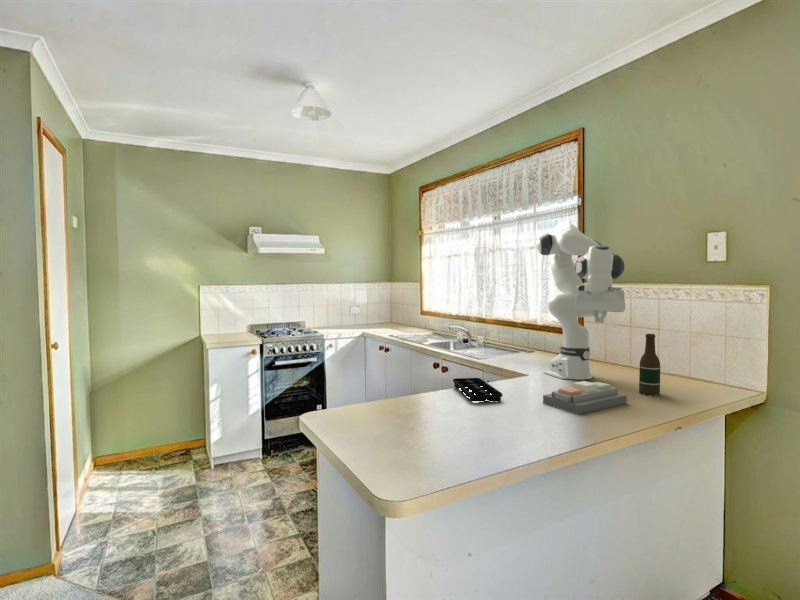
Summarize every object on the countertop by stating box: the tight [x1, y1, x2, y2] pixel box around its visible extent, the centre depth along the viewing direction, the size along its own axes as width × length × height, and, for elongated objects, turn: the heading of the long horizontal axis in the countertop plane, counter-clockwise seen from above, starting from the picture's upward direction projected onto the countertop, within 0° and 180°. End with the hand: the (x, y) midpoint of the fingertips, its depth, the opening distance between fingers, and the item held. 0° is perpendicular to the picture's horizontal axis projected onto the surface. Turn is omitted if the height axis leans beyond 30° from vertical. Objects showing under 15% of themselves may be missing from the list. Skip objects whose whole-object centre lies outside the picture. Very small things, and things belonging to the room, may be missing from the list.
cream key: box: [572, 380, 596, 393], centre depth 168 cm, size 6×6×3 cm
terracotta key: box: [557, 386, 581, 396], centre depth 164 cm, size 6×6×3 cm
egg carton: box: [452, 377, 503, 402], centre depth 184 cm, size 18×30×4 cm, turn 20°
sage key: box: [592, 381, 611, 390], centre depth 171 cm, size 6×6×3 cm
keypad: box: [542, 386, 628, 415], centre depth 168 cm, size 16×26×5 cm, turn 118°
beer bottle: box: [638, 333, 661, 397], centre depth 179 cm, size 8×8×24 cm
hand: (599, 322), depth 176 cm, fingers closed
